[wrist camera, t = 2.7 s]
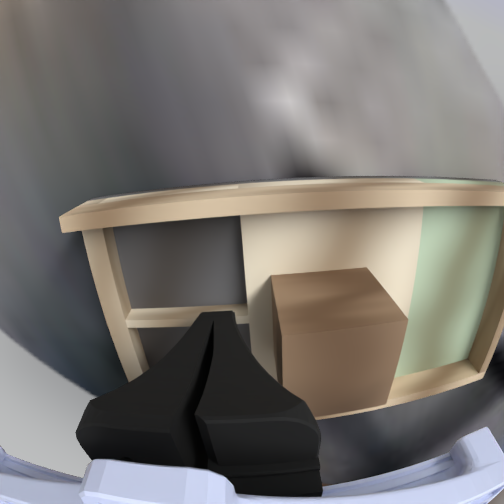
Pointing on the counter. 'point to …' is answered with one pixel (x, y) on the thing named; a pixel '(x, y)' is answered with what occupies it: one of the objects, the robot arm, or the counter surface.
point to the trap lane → (304, 264)
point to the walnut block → (336, 338)
